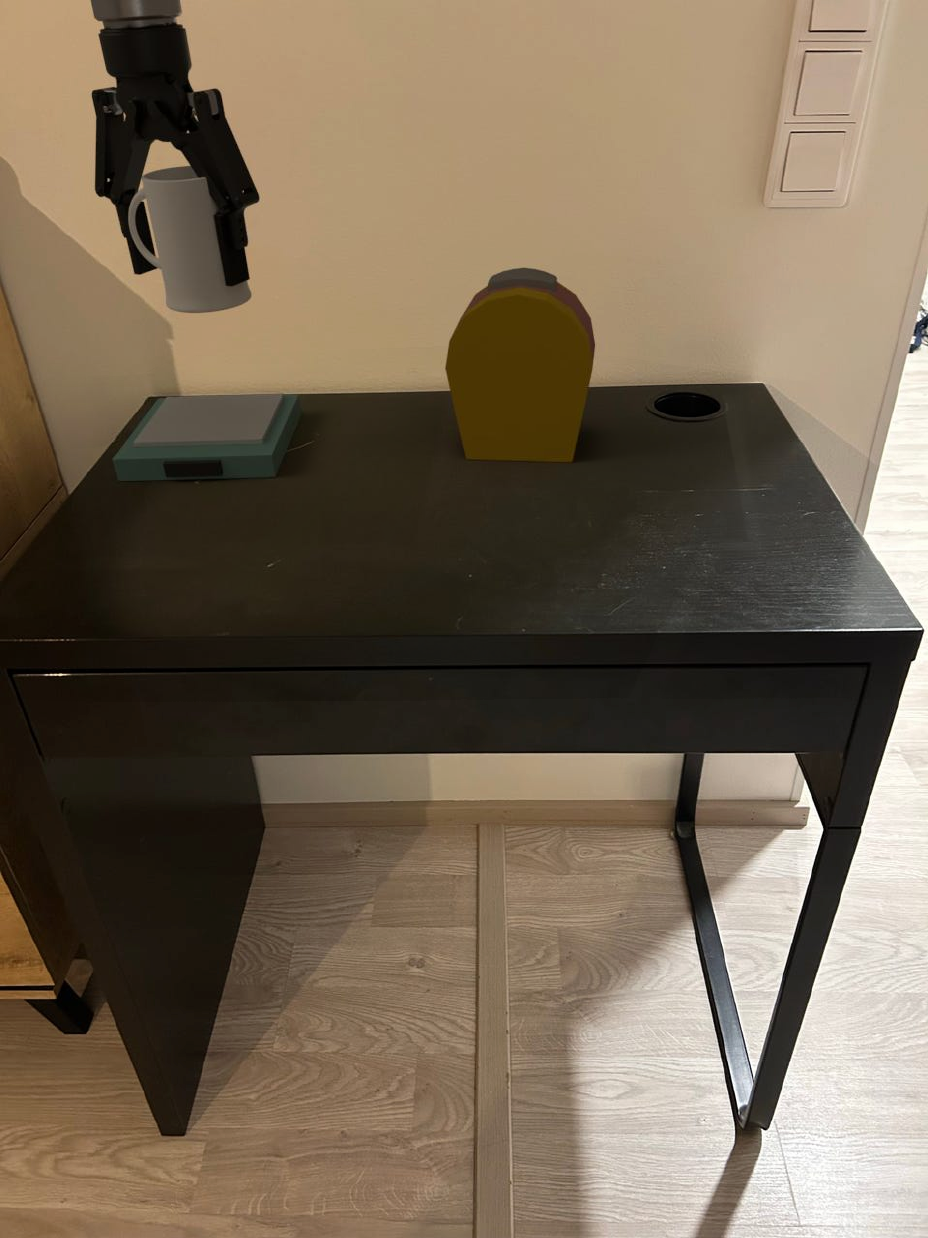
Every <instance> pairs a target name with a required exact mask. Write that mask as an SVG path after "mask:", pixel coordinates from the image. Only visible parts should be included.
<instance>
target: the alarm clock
mask: <svg viewBox="0 0 928 1238" xmlns="http://www.w3.org/2000/svg"><path fill="white" fill-rule="evenodd" d="M447 347H448V348H447V353H446V362H445V368H444V369H445V373H446V374H445V375H446V376H447V377H446V378H447V383H448V387H449V390H450V396H451V398H452V404H453V408H454V413H455V416H456V417H455V418H456V422H457V425H458V426H457V427H458V430H459V434H460V439H461V443H462V448H463V452H464V456H465V460H473V461H474V460H475V461H476V460H477V461H478V460H479V461H480V460H481V461H512V462H546V463H547V462H549V463H573V460H574V456H575V452H576V447H577V443H578V437H579V433H580V428H581V424H582V419H583V416H584V411H585V405H586V400H587V396H588V392H589V387H590V383H591V379H592V374H593V368H594V359H595V351H596V342H595V334H594V329H593V322H592V317H591V316H590V314H589V313H588V311H587V310H586V308H585V306H584V305H583V304H582V301H581V300H580V299H579V297H578V295H577V294H576V293H574V291H572V290H570V289H569V288H567V287H566V286H565V285H562V284H561V283H560V282H558V277H557V276H556V275H554V274H552V273H550V272H548V271H545V270H542V269H536V268H531V267H518V268H512V269H511V268H510V269H507V270H502V271H500V272H497V273H496V274H493V275H491V276H490V277H489V280H488V282H487V286H485V287H484V288H482V289H481V290H480V291H478V292H476V293H475V294H474V296H473V298H471V301H470V302H469V303H468V305H467V307H466V309H465V310H464V312H463V314H461V316H460V319H459V320H458V323H457V325H456V326H455V329H454V330H453V333H452V335H451V337H450V339H449V341H448V346H447Z"/></svg>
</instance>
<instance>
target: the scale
mask: <svg viewBox="0 0 928 1238" xmlns="http://www.w3.org/2000/svg"><path fill="white" fill-rule="evenodd" d="M300 399H301V398H300V394H299V393H289V394H288V393H286V394H285V393H250V394H249V393H248V394H219V395H218V394H216V395H215V394H213V395H188V396H187V395H185V396H182V395H181V396H167V397H159V398H157V400H155V402H154V403H153V405H152V406H151V408H150V409H149V410H148V412H147V413H146V414H145V415H144V416H143V418H142V419H141V420H140V422H139V423H138V425H136V428H135V429H133V430H132V433H131V434H130V435H129V437H127V439H126V441H124V443H123V444H122V446H121V447H120V449H119V450H118V451H117V452H116V454H115V455H114V456H113V458H112V463H113V467H114V471H115V474H116V478H117V481H118V482H143V481H144V482H147V481H148V482H149V481H176V480H177V481H182V480H183V481H184V480H219V479H220V480H221V479H222V480H223V479H256V478H276V477H277V475H278V473H279V470H280V468H281V466H282V462H283V460H284V458H285V456H286V453H287V451H288V448H289V446H290V443H291V441H292V438H293V436H294V433H295V431H296V429H297V427H298V425H299V422H300V420H301V417H302V415H303V414H302V406H301V400H300Z"/></svg>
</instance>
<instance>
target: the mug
mask: <svg viewBox="0 0 928 1238" xmlns="http://www.w3.org/2000/svg"><path fill="white" fill-rule="evenodd" d="M141 181H142V186H143V187H142V188H139V190H138V192H137V193H136V194H135V196H134V197H133V199H132V201H131V204H130V207H129V214H128V221H129V228H130V232H131V235H132V238H133V240H134V243H135V244H136V246H137V248H138V249H139V251H140V252H141V254H142V255H143V256H144V257H145V258H146V259H147V260H148V261H149V262H150V263H151V264H153V265H154V266H155V267H157V268H158V269H159V270H160V271H161V274H162V275H161V276H162V279H163V285H164V290H165V305H166V307H167V308H168V309H170V310H171V311H174V312H179V313H186V314H204V313H205V314H206V313H213V312H220V311H225V310H229V309H233V308H236V307H239V306H242V305H245V304H246V303H248V302H249V301H250V300H251V298H252V296H253V295H252V291H251V289H250V286H249V283H248V280H247V281H244V282H242V283H240V284H237V285H235V286H226V282H225V276H224V271H223V265H222V260H221V254H220V249H219V243H218V237H217V232H216V226H215V221H214V215H215V213H216V212H217V211H218V210H219V208H218V207H217V205H216V204H215V202H214V201H213V199H212V198H211V196H210V195H209V190H208V185H207V180H206V178H205V177H201V178H198V176H197V175H196V173H195V172H194V170H193V169H192V167H191V166H190V165H182V166H174V167H173V166H172V167H168V168H162V169H157V170H152V171H150V172H147V173H145V174H143V175H142V179H141ZM226 197H227V196H226ZM227 199H229V198H228V197H227ZM145 200H146V205H147V210H148V214H149V219H150V224H151V227H152V228H151V229H152V232H153V237H154V238H153V239H154V243H155V246H156V251H157V255H156V256H154V255H153V254H151V253H150V252H149V251H148V250H147V249H146V247H145V246H144V245H143V243H142V241H141V240H140V238H139V235H138V233H137V229H136V224H135V213H136V209H137V207H138V205H139V204H140V202H141V201H142V202H143V201H145ZM157 256H158V257H157Z"/></svg>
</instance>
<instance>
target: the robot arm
mask: <svg viewBox="0 0 928 1238" xmlns="http://www.w3.org/2000/svg"><path fill="white" fill-rule="evenodd" d="M90 4H91V9H92V14H93V18H94V19H95V20H96V21H98V22H102V25H103V28H101V29H99V33H98V40H99V44H100V48H101V53H102V56H103V61H104V66H105V71H106V73H107V74H108V75H109V76H110V77H112V78H114V79H115V83H116V85H115V86H111V87H110V86H109V87H104V88H98V89H93V90H92V91H91V100H92V104H93V109H94V113H95V151H94V152H95V153H94V154H95V155H94V156H95V157H94V159H95V160H94V191H95V194H96V195H97V196H98V197H99V198H106V199H108V200H109V201H110V203H111V204H112V205H114V206H115V211H116V215H117V220H118V222H119V223H118V224H119V226H120V227H119V228H120V232H121V234H122V237H123V238H125V239H126V243H127V248H128V254H129V256H130V260H131V265H132V266H131V267H132V269H133V274H134V275H136V276H137V275H138V276H141V275H143V274H146V273H150V272H152V271H154V270H157V269H159V268H157V267H155V266H154V265H153V264H151V263H150V262H149V261H148V260H147V259H146V258H145V257H144V256H143V255H142V254H141V252H140V251H139V249H138V248H137V246H136V244H135V243H134V240H133V238H132V235H131V232H130V228H129V221H128V214H129V207H130V204H131V201H132V199H133V197H134V196H135V194H136V193H137V192H138V191H139V190H140V185H141V181H142V176H143V175H144V171H145V167H146V164H147V159H148V156H149V153H150V149H151V146H152V144H153V143H154V142H155V141H159V142H162V143H171V145H172V147H173V148H174V149H176V150H177V151H180V152H181V153H182V155H183V157H184V158H185V160H186V161H187V163H188V164H189V166H191V167H192V169H193V170H194V172H195V173H196V175H197V176H198V178H201V177H205V178H206V180H207V185H208V190H209V195H210V196H211V198H212V199H213V201H214V202H215V204H216V205H217V207H218V208H219V210H218V211H217V212H216V213H215V215H214V221H215V226H216V232H217V237H218V243H219V249H220V254H221V260H222V265H223V271H224V276H225V282H226V286H235V285H237V284H240V283H242V282H244V281H247V282H248V281H250V280H251V277H250V271H249V265H248V260H247V253H246V248H247V247H248V245H249V238H248V237H249V236H248V231H247V223H246V218H245V210H246V208H248V207H250V206H253V205H255V204H258V203H259V202H260V194H259V191H258V188H257V186H256V185H255V181H254V180H253V177H252V175H251V172H250V170H249V168H248V165H247V163H246V161H245V159H244V156H243V155H242V152H241V149H240V147H239V145H238V142H237V140H236V138H235V135H234V134H233V131H232V128H231V127H230V124H229V121H228V120H227V119H228V118H227V117H226V112H225V107H224V102H223V97H222V92H221V91H220V90H219V88H210V89H204V90H198V91H197V90H196V91H194V89H193V87H192V84H191V82H190V79H189V74H190V71H191V69H192V67H193V62H192V57H191V51H190V48H189V46H190V45H189V40H188V35H187V29H186V28H185V27H184V26H183V24H180V23H178V20H177V17H181V15H182V14H183V10H182V4H181V0H90ZM226 196H227V197H228V198H229V199H227V197H226ZM135 224H136V229H137V233H138V235H139V238H140V240H141V241H142V243H143V245H144V246H145V247H146V249H147V250H148V251H149V252H150V253H151V254H153V255H154V256H156V257H157V255H156V250H155V246H154V245H155V244H154V241H153V235H152V232H151V228H150V223H149V218H148V214H147V209H146V204H145V201H143V200H142V201H141V202H140V204H139V205H138V207H137V209H136V213H135Z"/></svg>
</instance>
